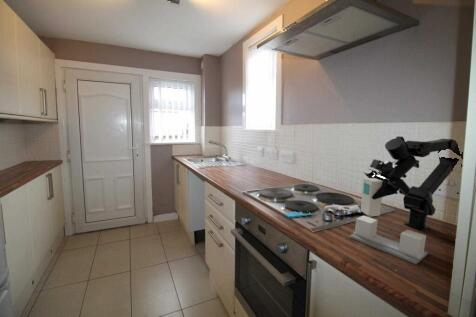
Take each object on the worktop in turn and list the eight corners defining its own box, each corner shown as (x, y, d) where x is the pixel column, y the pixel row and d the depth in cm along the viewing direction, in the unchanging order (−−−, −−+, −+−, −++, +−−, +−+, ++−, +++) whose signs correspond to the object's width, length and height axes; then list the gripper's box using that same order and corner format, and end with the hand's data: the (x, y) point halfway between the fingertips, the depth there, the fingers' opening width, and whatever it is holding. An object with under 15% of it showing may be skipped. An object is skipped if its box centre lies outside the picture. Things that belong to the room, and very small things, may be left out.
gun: (353, 200, 117) (369, 207, 108) (353, 207, 118) (369, 214, 109) (321, 204, 112) (335, 212, 103) (321, 211, 113) (335, 220, 104)
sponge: (281, 212, 106) (288, 215, 101) (304, 209, 110) (312, 212, 105) (281, 215, 106) (288, 219, 101) (304, 213, 110) (312, 216, 105)
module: (371, 210, 94) (374, 178, 92) (379, 215, 89) (383, 181, 87) (360, 210, 93) (363, 178, 92) (367, 215, 89) (371, 181, 87)
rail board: (363, 230, 91) (365, 213, 90) (427, 254, 75) (430, 234, 74) (349, 237, 85) (351, 219, 84) (416, 264, 69) (419, 242, 68)
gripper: (370, 149, 97) (342, 176, 98) (405, 155, 79) (370, 188, 80) (387, 168, 99) (359, 194, 100) (425, 179, 81) (390, 210, 81)
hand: (368, 196), depth 90 cm, fingers closed on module, 5 cm apart
